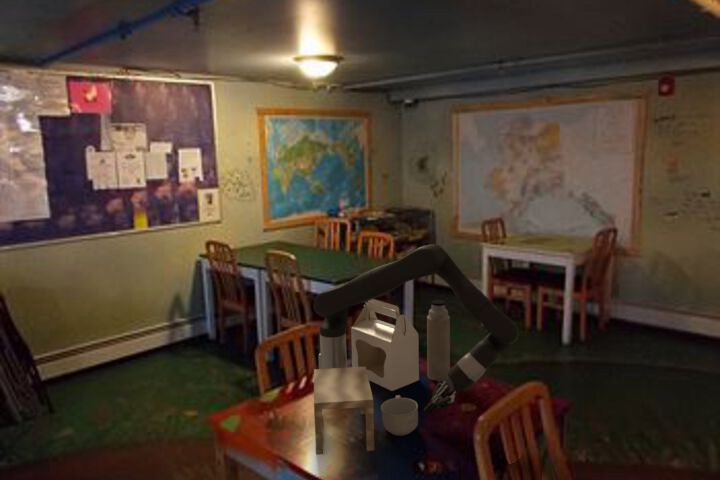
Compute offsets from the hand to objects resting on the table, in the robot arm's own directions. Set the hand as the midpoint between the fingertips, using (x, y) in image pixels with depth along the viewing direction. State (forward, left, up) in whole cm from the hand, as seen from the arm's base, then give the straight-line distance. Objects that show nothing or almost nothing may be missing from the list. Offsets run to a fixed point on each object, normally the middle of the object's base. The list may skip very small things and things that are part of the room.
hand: (426, 412), depth 165 cm
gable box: (-25, +29, -4) cm, 38 cm away
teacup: (-7, -4, -4) cm, 9 cm away
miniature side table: (-21, -12, -4) cm, 25 cm away
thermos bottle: (-7, +36, -4) cm, 37 cm away
